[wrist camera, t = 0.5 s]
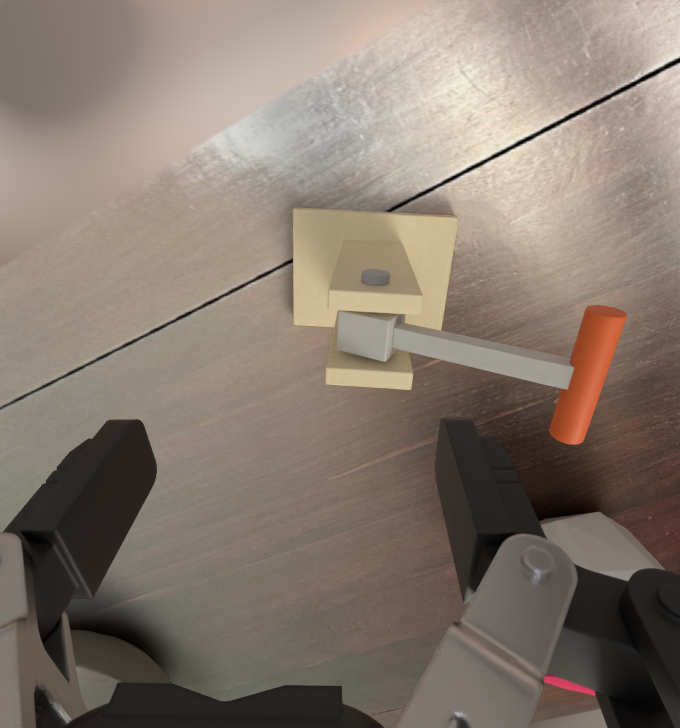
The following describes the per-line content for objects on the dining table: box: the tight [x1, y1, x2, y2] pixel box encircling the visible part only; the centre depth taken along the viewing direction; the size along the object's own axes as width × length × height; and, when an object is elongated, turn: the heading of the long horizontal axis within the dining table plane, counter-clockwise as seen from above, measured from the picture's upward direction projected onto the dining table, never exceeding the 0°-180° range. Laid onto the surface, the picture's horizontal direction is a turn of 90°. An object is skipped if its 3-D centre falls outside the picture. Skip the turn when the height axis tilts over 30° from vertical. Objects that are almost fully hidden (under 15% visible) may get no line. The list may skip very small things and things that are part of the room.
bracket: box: [293, 207, 458, 390], centre depth 27 cm, size 12×9×15 cm
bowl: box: [70, 630, 172, 711], centre depth 56 cm, size 27×28×8 cm
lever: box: [337, 305, 627, 444], centre depth 20 cm, size 12×6×2 cm, turn 87°
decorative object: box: [539, 512, 665, 695], centre depth 39 cm, size 15×15×15 cm
